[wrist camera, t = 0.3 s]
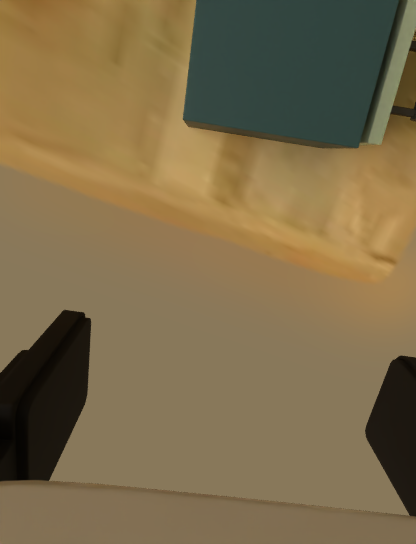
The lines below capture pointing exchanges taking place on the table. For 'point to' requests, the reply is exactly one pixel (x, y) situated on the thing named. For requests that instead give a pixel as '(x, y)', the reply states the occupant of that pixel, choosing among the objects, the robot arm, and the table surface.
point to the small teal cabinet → (287, 68)
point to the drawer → (391, 75)
